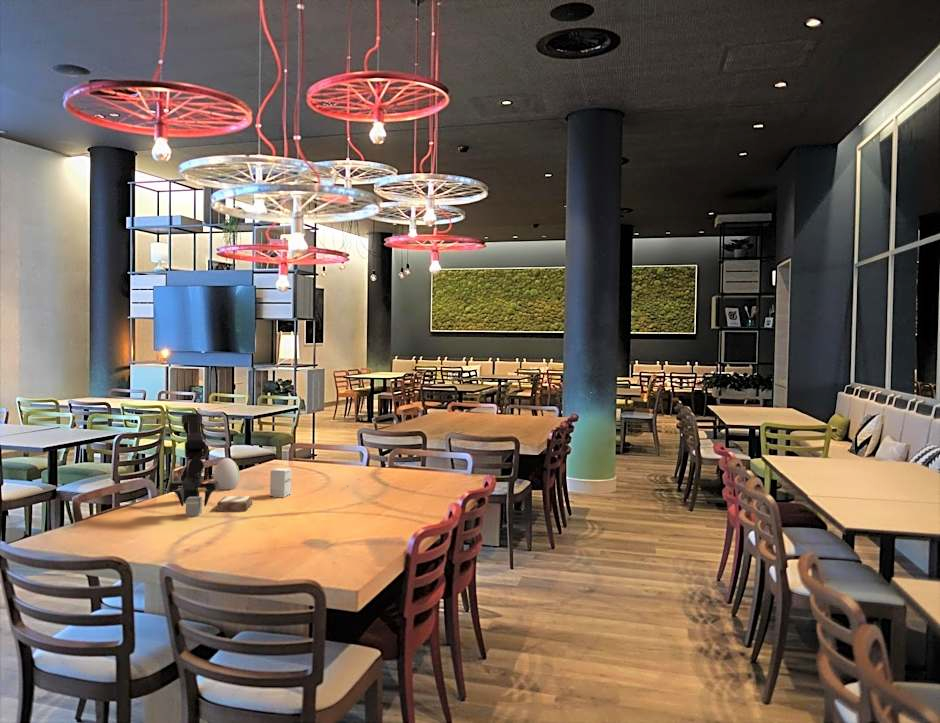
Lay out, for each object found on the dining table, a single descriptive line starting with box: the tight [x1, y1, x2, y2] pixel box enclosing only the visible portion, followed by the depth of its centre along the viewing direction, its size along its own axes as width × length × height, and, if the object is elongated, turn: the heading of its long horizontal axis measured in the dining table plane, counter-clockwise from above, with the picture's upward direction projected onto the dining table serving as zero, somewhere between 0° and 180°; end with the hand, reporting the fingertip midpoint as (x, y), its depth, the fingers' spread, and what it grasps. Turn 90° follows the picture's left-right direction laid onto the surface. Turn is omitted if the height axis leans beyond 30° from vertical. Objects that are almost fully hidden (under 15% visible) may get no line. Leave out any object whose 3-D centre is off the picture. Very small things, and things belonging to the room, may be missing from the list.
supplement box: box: [269, 467, 292, 498], centre depth 331 cm, size 7×7×13 cm
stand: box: [216, 495, 253, 512], centre depth 305 cm, size 12×12×4 cm
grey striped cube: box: [185, 496, 203, 517], centre depth 292 cm, size 5×5×7 cm
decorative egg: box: [212, 457, 241, 491], centre depth 345 cm, size 12×12×15 cm
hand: (193, 506), depth 292 cm, fingers open, 9 cm apart
